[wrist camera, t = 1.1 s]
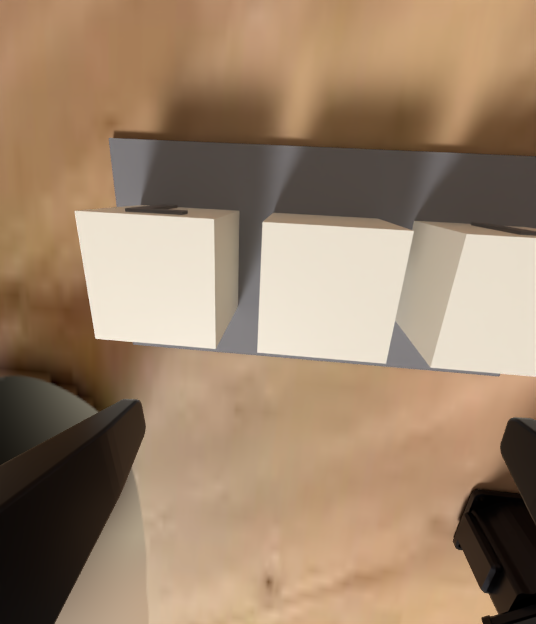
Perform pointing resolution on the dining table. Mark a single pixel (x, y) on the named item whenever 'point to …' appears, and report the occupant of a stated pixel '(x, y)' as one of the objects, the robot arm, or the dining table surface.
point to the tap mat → (321, 202)
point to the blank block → (330, 286)
